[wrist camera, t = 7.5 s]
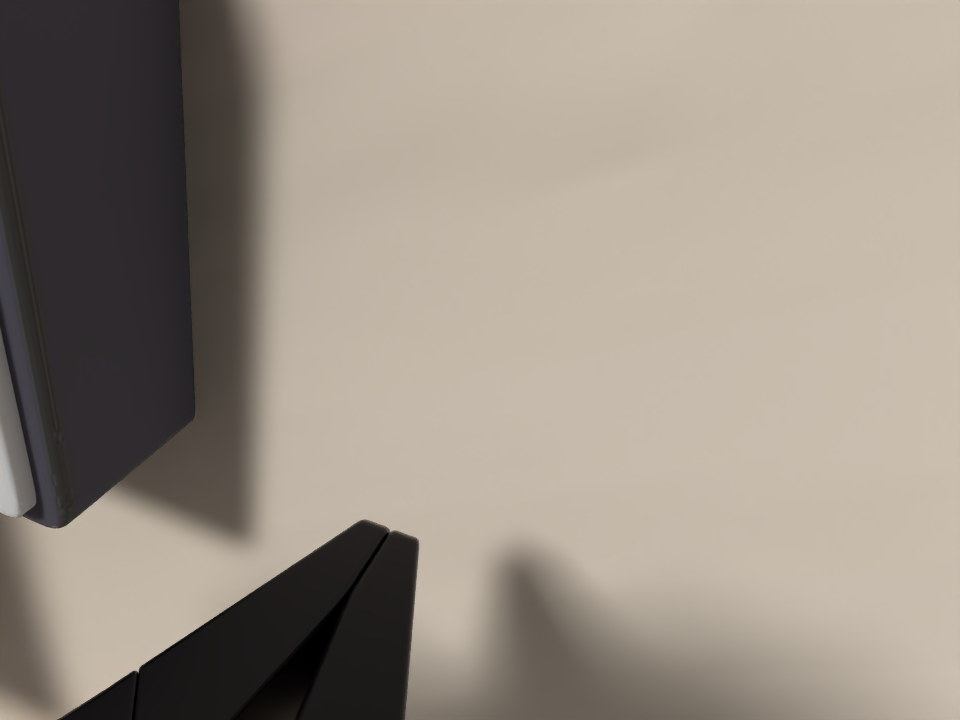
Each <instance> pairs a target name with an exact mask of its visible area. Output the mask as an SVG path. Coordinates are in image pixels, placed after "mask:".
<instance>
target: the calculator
mask: <svg viewBox="0 0 960 720" xmlns="http://www.w3.org/2000/svg"><path fill="white" fill-rule="evenodd" d="M194 415H195V393H194V368H193V343H192V318H191V294H190V269H189V244H188V219H187V194H186V170H185V145H184V120H183V95H182V70H181V46H180V21H179V0H0V513H2V514H5V515H8V516H10V517H21V516H24V517H26V518H28V519H30V520H32V521H34V522H36V523H39V524H41V525H44V526H46V527H50V528H61V527H64V526H66V525H67V524H69V523H70V522H71V521H72V520H74V519H75V518H76V517H77V516H78V515H80V514H81V513H82V512H83V511H85V510H86V509H87V508H88V507H89V506H91V505H92V504H93V503H94V502H96V501H97V500H98V499H99V498H100V497H101V496H103V495H104V494H105V493H106V492H107V491H109V490H110V489H111V488H112V487H113V486H115V485H116V484H117V483H118V482H119V481H121V480H122V479H123V478H124V477H125V476H127V475H128V474H129V473H130V472H131V471H132V470H134V469H135V468H136V467H137V466H138V465H140V464H141V463H142V462H143V461H144V460H146V459H147V458H148V457H149V456H150V455H152V454H153V453H154V452H155V451H156V450H157V449H159V448H160V447H161V446H162V445H163V444H165V443H166V442H167V441H168V440H169V439H170V438H172V437H173V436H174V435H175V434H176V433H178V432H179V431H180V430H181V429H182V428H183V427H185V426H186V425H187V424H188V423H189V422H190V421H192V419H193V418H194Z"/></svg>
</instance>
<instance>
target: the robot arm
mask: <svg viewBox="0 0 960 720" xmlns="http://www.w3.org/2000/svg"><path fill="white" fill-rule="evenodd" d="M418 554H419V540H418V539H417V538H415V537H413V536H410V535H407V534H404V533H402V532H399V531H395V530H394V531H392V532H390V530H389V528H387V527H385V526H383V525H380V524H377V523H374V522H372V521H369V520H361V521H359V522H357V523H356V524H354V525H353V526H351V527H350V528H348V529H346V530H345V531H343V532H342V533H340V534H339V535H337V536H336V537H334V538H333V539H331V540H330V541H328V542H327V543H325V544H324V545H322V546H321V547H319V548H318V549H316V550H315V551H313V552H312V553H310V554H309V555H307V556H306V557H304V558H303V559H301V560H300V561H298V562H297V563H295V564H294V565H292V566H291V567H289V568H288V569H286V570H285V571H283V572H282V573H280V574H279V575H277V576H276V577H274V578H273V579H271V580H270V581H268V582H267V583H265V584H264V585H262V586H261V587H259V588H258V589H256V590H255V591H253V592H252V593H250V594H249V595H247V596H246V597H244V598H243V599H241V600H240V601H238V602H237V603H235V604H234V605H232V606H231V607H229V608H228V609H226V610H225V611H223V612H222V613H220V614H219V615H217V616H216V617H214V618H213V619H211V620H210V621H208V622H207V623H205V624H204V625H202V626H201V627H199V628H198V629H196V630H195V631H193V632H192V633H190V634H189V635H187V636H186V637H184V638H183V639H181V640H180V641H178V642H177V643H175V644H174V645H172V646H171V647H169V648H168V649H166V650H165V651H163V652H161V653H160V654H158V655H157V656H155V657H154V658H152V659H151V660H149V661H148V662H146V663H145V664H143V665H142V666H141V667H140V668H139V673H138V672H137V671H132V672H131V673H129V674H128V675H126V676H125V677H123V678H122V679H120V680H119V681H117V682H116V683H114V684H113V685H111V686H110V687H109V688H107V689H105V690H104V691H102V692H101V693H99V694H98V695H96V696H94V697H93V698H91V699H90V700H88V701H86V702H85V703H83V704H82V705H80V706H79V707H77V708H75V709H74V710H72V711H71V712H69V713H67V714H66V715H64V716H63V717H61V718H59V719H58V720H405V712H406V700H407V688H408V676H409V664H410V651H411V639H412V627H413V615H414V603H415V591H416V578H417V566H418Z"/></svg>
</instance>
